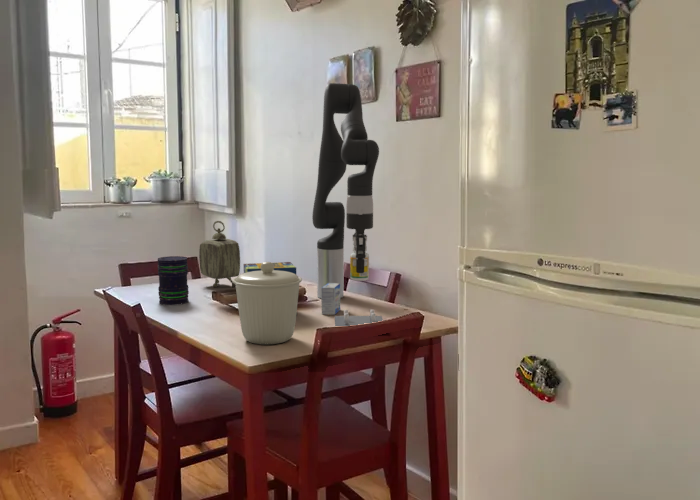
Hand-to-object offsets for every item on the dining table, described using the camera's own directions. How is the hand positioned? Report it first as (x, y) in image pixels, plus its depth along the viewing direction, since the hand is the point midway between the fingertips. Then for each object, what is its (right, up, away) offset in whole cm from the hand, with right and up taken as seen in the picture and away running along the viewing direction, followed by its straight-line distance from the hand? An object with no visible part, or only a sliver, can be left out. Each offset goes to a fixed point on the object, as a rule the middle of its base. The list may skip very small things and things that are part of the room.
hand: (359, 270), depth 192 cm
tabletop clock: (-52, -8, +65) cm, 84 cm away
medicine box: (-9, -14, +22) cm, 27 cm away
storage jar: (-62, -12, +37) cm, 73 cm away
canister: (-24, -18, -12) cm, 33 cm away
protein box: (-28, -14, +19) cm, 36 cm away
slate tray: (0, -16, +2) cm, 16 cm away
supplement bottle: (0, -3, 0) cm, 3 cm away
